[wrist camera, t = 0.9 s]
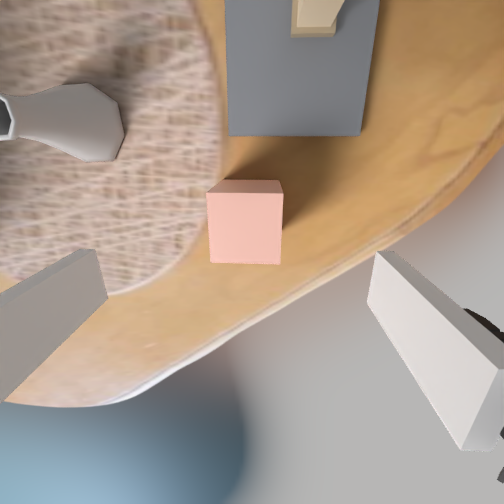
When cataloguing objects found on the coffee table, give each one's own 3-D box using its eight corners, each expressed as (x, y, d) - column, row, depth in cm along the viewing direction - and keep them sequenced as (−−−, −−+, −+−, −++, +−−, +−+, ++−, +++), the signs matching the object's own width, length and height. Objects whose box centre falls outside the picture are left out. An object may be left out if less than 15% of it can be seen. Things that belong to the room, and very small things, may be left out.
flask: (129, 95, 24) (45, 65, 15) (123, 172, 27) (48, 186, 18) (52, 71, 24) (-82, 26, 15) (54, 152, 27) (-58, 156, 18)
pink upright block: (225, 232, 29) (210, 262, 22) (223, 179, 27) (206, 192, 19) (276, 233, 29) (279, 264, 21) (279, 180, 27) (283, 193, 19)
